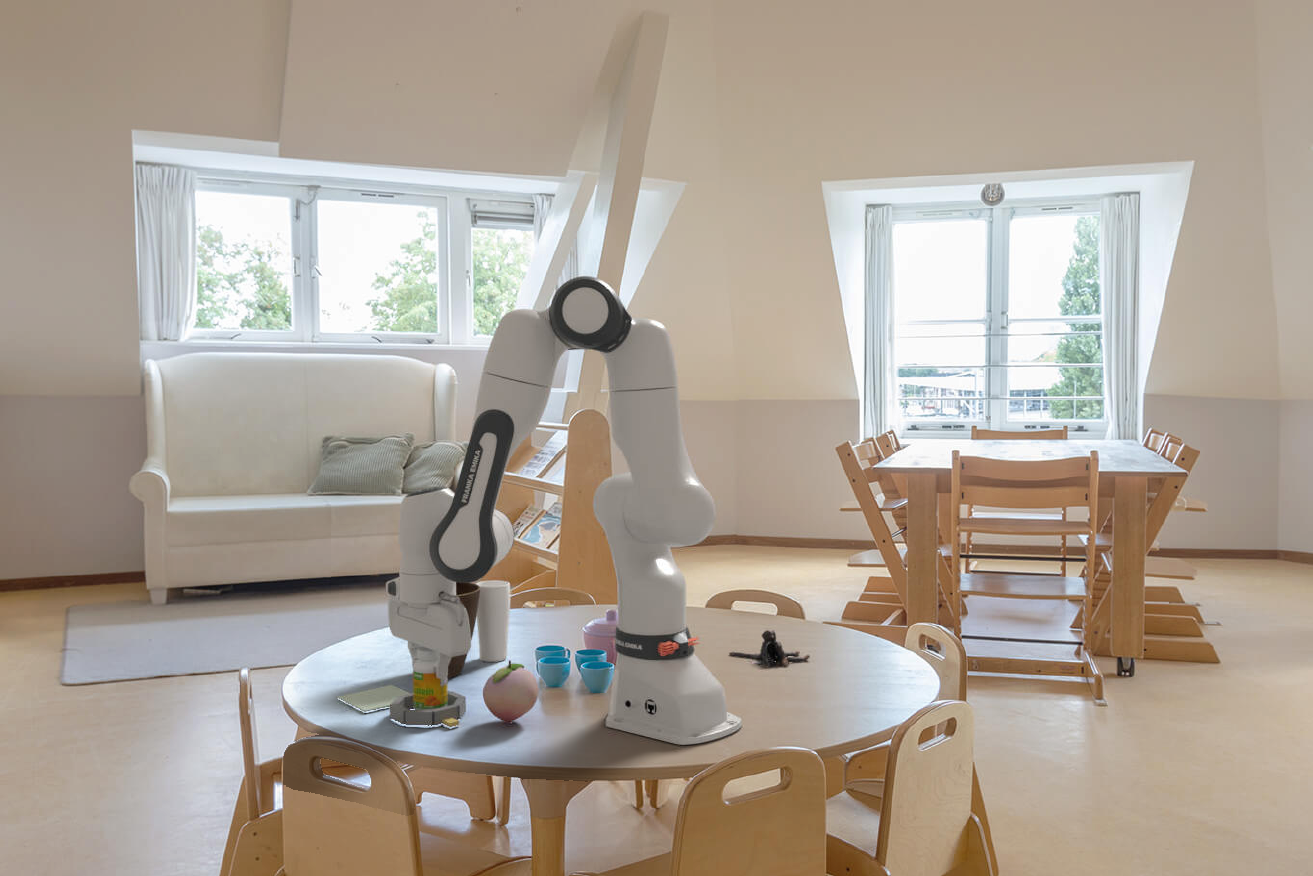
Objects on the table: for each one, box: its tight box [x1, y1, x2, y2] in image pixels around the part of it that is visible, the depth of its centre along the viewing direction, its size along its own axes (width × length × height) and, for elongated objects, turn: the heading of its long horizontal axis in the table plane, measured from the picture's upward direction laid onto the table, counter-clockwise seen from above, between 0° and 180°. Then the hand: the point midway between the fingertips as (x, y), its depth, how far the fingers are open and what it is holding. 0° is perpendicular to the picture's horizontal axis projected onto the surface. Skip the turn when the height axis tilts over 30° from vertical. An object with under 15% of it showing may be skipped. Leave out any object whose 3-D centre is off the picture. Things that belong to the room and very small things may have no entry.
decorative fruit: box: [482, 660, 539, 724], centre depth 156 cm, size 9×8×10 cm
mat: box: [337, 684, 410, 712], centre depth 168 cm, size 10×10×1 cm
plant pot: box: [447, 582, 480, 679], centre depth 183 cm, size 15×15×16 cm
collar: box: [389, 690, 467, 727], centre depth 159 cm, size 16×11×2 cm
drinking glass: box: [475, 579, 511, 663], centre depth 194 cm, size 7×7×15 cm
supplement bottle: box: [412, 647, 448, 710], centre depth 159 cm, size 5×5×10 cm
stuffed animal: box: [729, 628, 810, 668], centre depth 194 cm, size 12×10×12 cm
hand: (429, 673), depth 159 cm, fingers closed on supplement bottle, 5 cm apart
